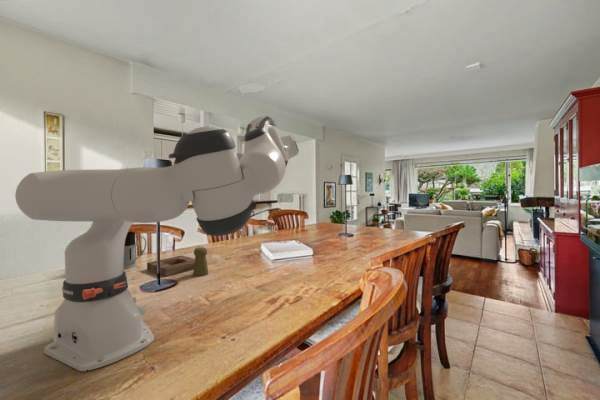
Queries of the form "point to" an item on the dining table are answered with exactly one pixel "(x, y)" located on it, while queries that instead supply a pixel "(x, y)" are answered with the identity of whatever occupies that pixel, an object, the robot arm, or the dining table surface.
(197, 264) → the cork
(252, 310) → the dining table surface
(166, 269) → the walnut collar
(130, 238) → the glass holder
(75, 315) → the robot arm
